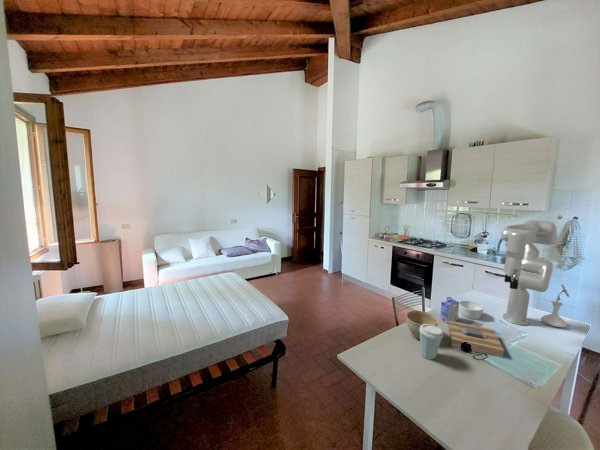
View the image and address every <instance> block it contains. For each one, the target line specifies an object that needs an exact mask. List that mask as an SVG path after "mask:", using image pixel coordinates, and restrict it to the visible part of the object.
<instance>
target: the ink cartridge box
mask: <svg viewBox="0 0 600 450" xmlns="http://www.w3.org/2000/svg"><path fill="white" fill-rule="evenodd" d="M459 302H460V301H458V300H456V299H453V298H452V297H451V296H448V297H446V300H443V301H441V302H440V303H441V305H440V306H441V308H440V318H439V319H440V321H442V322H444V323H445V324H449V321H453V322H458V321H459V312H460V311H459Z"/></svg>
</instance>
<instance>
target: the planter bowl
mask: <svg viewBox="0 0 600 450" xmlns="http://www.w3.org/2000/svg"><path fill="white" fill-rule="evenodd" d="M405 317H406V325H407V328H408V330H409V332H410V333H411V336H412V337H413V338H415V339H417V340H420V331H419V329H420V326H421V325H423V324H430V325H434V326H436V327H438V325H439V319H438V318H437V317H436V315H435V316H434V315H433V314H432V313H429V312H427V311H424V310H423V311H422V310H410V311H407V313H406V314H405Z"/></svg>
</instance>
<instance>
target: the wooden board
mask: <svg viewBox="0 0 600 450" xmlns="http://www.w3.org/2000/svg"><path fill="white" fill-rule="evenodd" d="M447 324H448V325H447V328H448V334H449V340H450V345H451V347H454V348H455V347H456V348H460V349H462V348H461V343H464V342H467V343H468V344H470V345H471V349H472V350H471V351H473V352H475V353H476V352H477V353H481V354H485V353H486V355H489V354H490V356H495V357H499V358H501V359H502V358H504V352H505V351H504V347H503V345H502V344H501V342H500V340H499V337H498V335H497V333H496V331H495V329H493V328H488V327H483V326H478V325H473V324H469V323H463V322H458V321H454V322H453V321H449V323H447ZM462 328H464V329H466V328H470V329H475V330H480V331H481V332H484V333H485V335H486V337H487V338H486V339H484V338H482V339H481V338H476V337H471V336H467V335H465V334H463V331H462Z"/></svg>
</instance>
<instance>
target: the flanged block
mask: <svg viewBox="0 0 600 450" xmlns="http://www.w3.org/2000/svg"><path fill="white" fill-rule="evenodd" d="M462 331H463V334H465V335H467V336H471V337H476V338H481V339H482V338H484V339H486V338H487V337H486V335H485V333H484V332H481V331H480V330H475V329H470V328H466V329H464V328H462Z"/></svg>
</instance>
